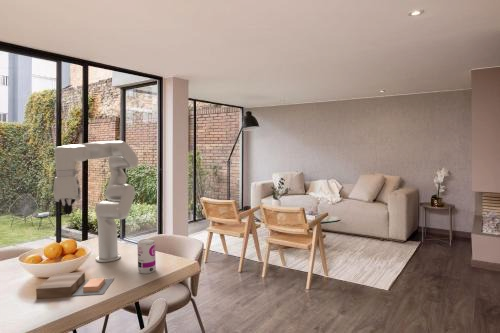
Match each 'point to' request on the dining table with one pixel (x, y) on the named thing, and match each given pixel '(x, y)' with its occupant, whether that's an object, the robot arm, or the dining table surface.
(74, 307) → the dining table surface
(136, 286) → the dining table surface
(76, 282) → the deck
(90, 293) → the mat
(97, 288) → the peach rectangular tile
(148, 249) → the supplement can
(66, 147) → the robot arm
